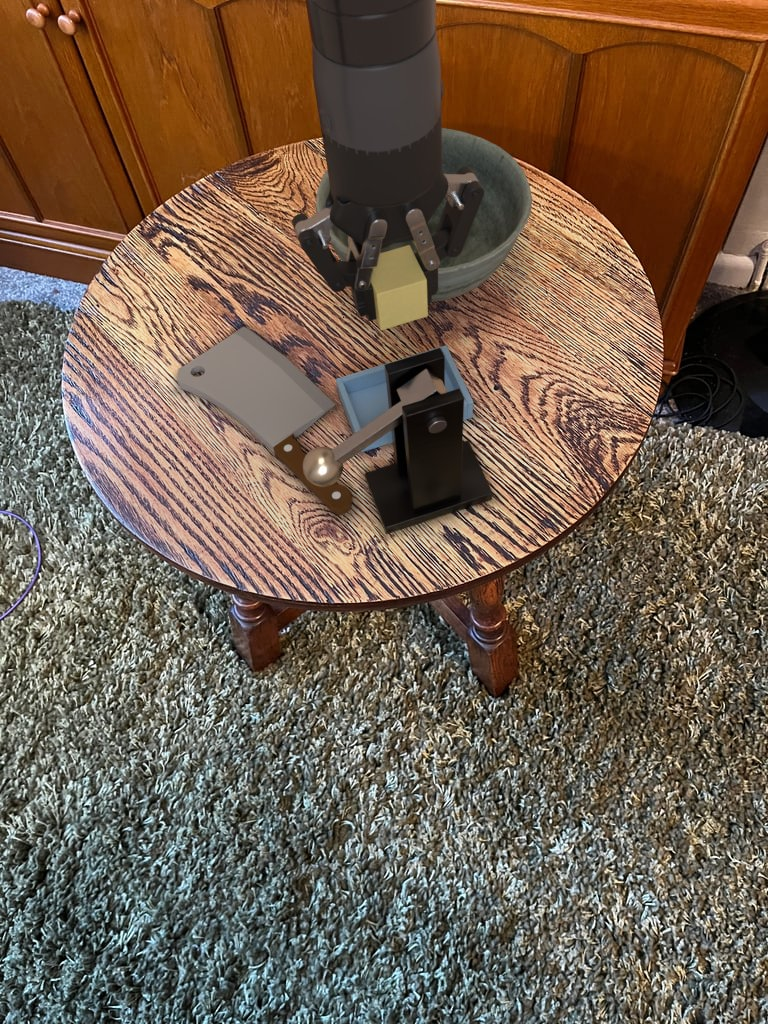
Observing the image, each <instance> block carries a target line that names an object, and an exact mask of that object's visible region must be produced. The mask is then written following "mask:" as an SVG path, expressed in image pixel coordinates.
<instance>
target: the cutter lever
mask: <svg viewBox="0 0 768 1024" xmlns="http://www.w3.org/2000/svg"><path fill="white" fill-rule="evenodd" d="M397 392H398V394H399V397H400V399H401V401H400V402H399V403H397V404H396V405H394V406H393V407H391V408H390V409H389V410H387V411H386V412H384V413H383V414H382V415H380V416H379V417H377V418H376V419H374V420H373V421H372V422H370V423H369V424H367V425H366V426H365V427H363V428H362V429H360V430H359V431H357V432H356V433H355V434H353V433H352V435H350V436H349V437H347V438H345V439H344V440H343V441H341V442H340V443H339V444H337V445H336V446H335V447H333V448H332V447H329V446H323V445H322V446H317V447H313V448H312V449H311V450H309V451H308V452H307V453H306V454H305V455H306V456H305V458H304V461H303V472H304V475H305V477H306V478H307V480H308V481H309V482H310V483H312V484H313V485H316V486H319V487H327V486H331V485H333V484H334V483H336V484H337V482H338V481H339V480H340V479H341V477H342V475H343V472H344V464H345V463H347V462H348V461H349V460H350V459H352V458H354V457H355V456H356V455H358V454H359V453H360V452H361V451H362V450H364V449H365V448H366V447H368V446H369V445H371V444H372V443H374V442H375V441H377V440H378V439H380V438H381V437H382V436H384V435H385V434H387V433H388V432H390V431H391V430H393V429H394V428H395V427H397V426H398V425H400V424H401V423H403V414H402V406H404V405H408V404H411V403H414V402H417V401H421V400H424V399H427V398H430V397H433V396H437V395H440V394H443V393H446V392H447V391H446V388H445V386H444V384H443V382H442V380H440V379H439V378H438V377H437V376H435V375H434V374H433V373H432V372H430V371H429V370H428V369H425V370H423V371H422V372H420V373H419V374H418V375H416V376H415V377H413V378H412V379H411V380H409V381H408V382H406V383H405V384H404V385H402V386H401V387H399V388H398V389H397ZM361 453H362V452H361Z"/></svg>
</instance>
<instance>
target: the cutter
mask: <svg viewBox="0 0 768 1024" xmlns="http://www.w3.org/2000/svg"><path fill="white" fill-rule="evenodd" d="M436 348H437V349H435V348H433V349H434V350H432V349H430V350H431V351H429V350H426V351H427V352H425V351H423V352H424V353H422V352H420V353H421V354H419V353H417V354H418V355H415V354H413V355H414V356H412V355H410V356H411V357H409V356H407V357H408V358H406V357H403V358H404V359H402V358H400V359H401V360H399V359H397V360H398V361H396V360H394V361H395V362H393V361H390V362H391V363H389V362H387V363H388V364H386V363H384V364H385V365H384V367H385V376H386V385H387V394H388V403H389V409H390V408H391V407H393V406H394V405H396V404H397V403H399V402H400V401H401V399H400V397H399V394H398V392H397V389H398V388H399V387H401V386H402V385H404V384H405V383H406V382H408V381H409V380H411V379H412V378H413V377H415V376H416V375H418V374H419V373H420V372H422V371H423V370H425V369H428V370H429V371H430V372H432V373H433V374H434V375H435V376H437V377H438V378H439V379H440V380H442V382H443V384H444V386H445V356H444V354H443V352H442V350H441V348H438V347H436ZM402 414H403V423H401V424H400V425H398V426H397V427H395V428H394V429H393V430H392V439H393V443H392V447H393V455H394V456H393V457H394V463H392V464H388V465H386V466H382V467H379V468H376V469H373V470H370V471H367V472H364V478H365V482H366V485H367V487H368V490H369V492H370V493H369V494H370V496H371V498H372V502H373V503H374V507H375V509H376V511H377V514H378V517H379V520H380V522H381V525H382V528H383V531H384V533H385V534H386V535H388V534H391V533H395V532H398V531H400V530H404V529H406V528H410V527H413V526H416V525H419V524H422V523H425V522H428V521H431V520H434V519H438V518H440V517H443V516H447V515H450V514H453V513H456V512H458V511H462V510H464V509H468V508H471V507H475V506H477V505H481V504H483V503H486V502H490V501H492V500H493V495H494V493H493V491H492V488H491V486H490V484H489V482H488V480H487V477H486V475H485V473H484V471H483V469H482V467H481V464H480V462H479V460H478V458H477V455H476V453H475V452H474V449H473V447H472V445H471V443H470V441H469V439H468V440H467V439H466V440H464V420H463V418H464V397H463V395H462V393H461V390H460V389H456V390H453V391H450V392H446V393H443V394H440V395H437V396H433V397H430V398H427V399H424V400H421V401H417V402H414V403H411V404H408V405H404V406H402Z"/></svg>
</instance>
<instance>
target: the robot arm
mask: <svg viewBox="0 0 768 1024" xmlns="http://www.w3.org/2000/svg"><path fill="white" fill-rule="evenodd" d="M304 1H305V6H306V12H307V13H306V14H307V20H308V26H309V33H310V40H311V51H312V55H311V56H312V80H313V81H312V82H313V88H314V93H315V101H316V106H317V113H318V119H319V125H320V132H321V137H322V144H323V150H324V156H325V163H326V171H327V170H328V176H329V183H330V190H329V194H328V197H327V199H326V208H324V209H323V210H321V211H319V212H318V213H317V212H316V213H315V214H313V215H310V217H309V216H308V215H307V214H305V213H298V214H296V215H294V216H293V217H292V219H291V224H292V227H293V229H294V233H295V235H296V238H297V240H298V242H299V245H300V247H301V249H302V251H303V252H304V254H306V256H307V258H308V259H309V260H310V262H311V263H312V265H314V267H315V268H316V270H317V272H318V273H319V274H320V276H321V277H322V279H323V280H324V281H325V283H326V284H327V285H328V287H329V288H330V289H331V291H333V292H335V293H340V292H342V291H343V290H345V289H346V288H350V289H351V290H350V291H351V296H352V297H351V298H352V302H353V305H354V306H355V309H356V311H357V314H358V315H359V316H360V317H361V318H362V317H363V318H364V317H365V318H366V319H367V321H368V322H372V321H374V320H375V321H376V319H377V317H376V308H375V300H374V291H373V287H372V284H371V278H372V273H373V269H374V268H376V267H377V264H378V260H379V255H380V250H381V249H384V248H386V247H388V246H390V245H392V244H394V243H401V242H407V241H411V240H412V241H413V244H414V246H415V248H416V250H417V253H414V255H415V257H416V259H417V261H418V263H419V265H420V267H421V269H422V271H423V273H424V275H425V277H426V279H427V302H428V304H431V303H433V302H432V295H436V293H437V291H438V266H439V265H440V261H441V260H442V259H443V258H445V257H447V256H449V257H456V256H458V255H459V254H460V253H461V252H462V250H463V247H464V245H465V242H466V240H467V237H468V234H469V232H470V229H471V227H472V224H473V222H474V219H475V216H476V214H477V211H478V209H479V206H480V203H481V201H482V198H483V196H484V190H483V188H482V186H481V185H480V183H479V181H478V179H477V178H476V176H475V174H474V173H473V171H472V169H471V168H470V167H469V166H463V167H461V168H460V169H459V170H458V171H457V173H456V174H443V171H442V169H441V168H442V128H443V127H442V123H443V122H442V101H443V97H444V82H443V80H442V62H441V53H440V48H439V42H438V32H437V0H304ZM444 197H446V199H447V202H446V205H445V207H444V210H443V213H442V216H441V219H440V222H439V225H438V228H437V231H436V234H434V235H433V236H431V235H430V232H429V230H428V227H427V223H428V221H429V220H430V218H431V217H432V215H433V214H434V212H435V211H436V209H437V208H438V206H439V205H440V203H441V202H442V200H443V199H444ZM333 226H336V227H337V228H338V229H340V230H341V231H342V232H344V233H345V234H347V235H348V245H349V247H348V253H347V259H346V261H341V260H338V259H337V258H336V256H335V255H334V253H333V252H332V250H331V249H330V245H329V244H331V242H330V241H331V236H330V230H331V228H332V227H333Z"/></svg>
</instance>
